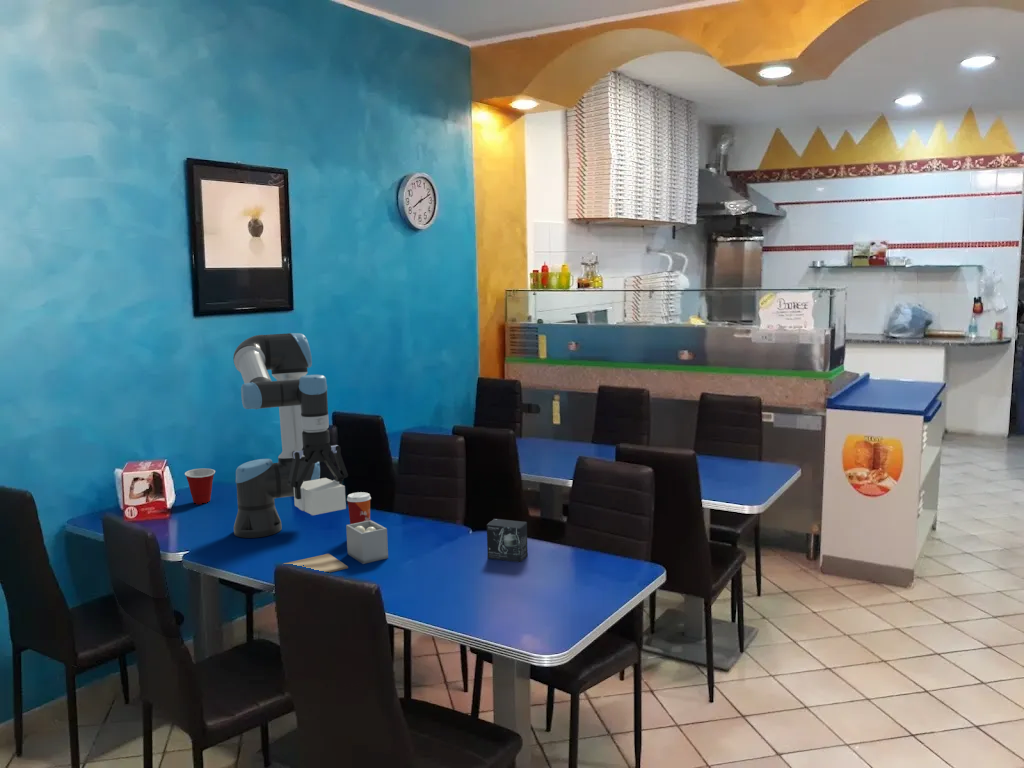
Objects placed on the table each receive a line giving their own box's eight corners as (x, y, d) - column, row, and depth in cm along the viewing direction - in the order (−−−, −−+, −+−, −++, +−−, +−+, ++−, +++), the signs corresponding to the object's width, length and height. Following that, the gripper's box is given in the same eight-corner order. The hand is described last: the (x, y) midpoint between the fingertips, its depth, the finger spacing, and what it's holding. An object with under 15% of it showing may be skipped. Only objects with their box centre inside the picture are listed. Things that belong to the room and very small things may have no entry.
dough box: (347, 554, 249) (346, 525, 248) (372, 548, 254) (370, 520, 252) (363, 563, 240) (361, 533, 239) (388, 558, 245) (386, 528, 243)
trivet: (283, 565, 240) (282, 563, 240) (328, 555, 248) (328, 553, 248) (300, 579, 229) (300, 577, 229) (347, 568, 237) (347, 566, 237)
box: (486, 559, 242) (485, 524, 240) (495, 552, 248) (494, 518, 246) (520, 562, 238) (519, 527, 237) (528, 555, 244) (527, 521, 243)
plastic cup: (195, 508, 305) (193, 476, 303) (181, 503, 312) (179, 472, 310) (223, 501, 313) (220, 470, 311) (208, 497, 320) (206, 466, 318)
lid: (294, 505, 240) (293, 483, 239) (326, 499, 246) (325, 477, 245) (312, 515, 230) (311, 492, 229) (345, 508, 236) (344, 486, 235)
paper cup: (367, 541, 260) (365, 498, 259) (344, 540, 262) (342, 497, 260) (376, 534, 268) (374, 491, 266) (354, 533, 269) (352, 491, 268)
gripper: (281, 437, 225) (286, 516, 228) (357, 426, 238) (361, 501, 241) (271, 433, 231) (276, 510, 234) (346, 423, 244) (350, 496, 247)
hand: (319, 506), depth 238 cm, fingers closed on lid, 10 cm apart
